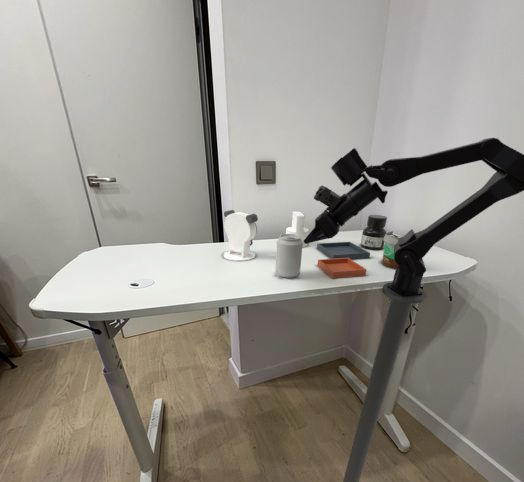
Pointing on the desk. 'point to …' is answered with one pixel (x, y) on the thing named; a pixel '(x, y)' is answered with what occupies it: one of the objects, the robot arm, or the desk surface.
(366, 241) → the ink bottle
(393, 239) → the food container
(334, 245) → the grey tray
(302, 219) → the white stepped part
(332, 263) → the terracotta tray
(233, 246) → the panda figurine
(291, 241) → the can
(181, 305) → the desk surface
